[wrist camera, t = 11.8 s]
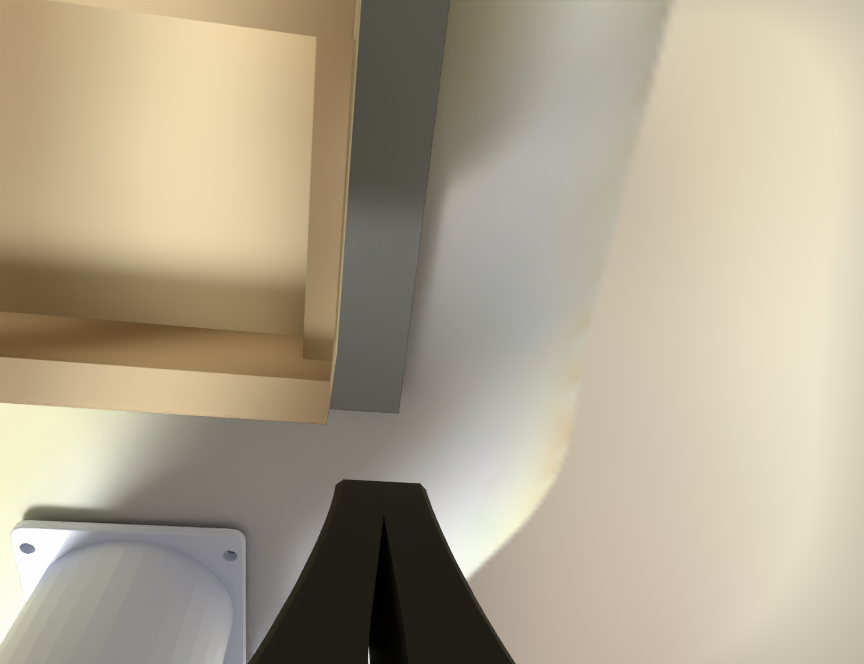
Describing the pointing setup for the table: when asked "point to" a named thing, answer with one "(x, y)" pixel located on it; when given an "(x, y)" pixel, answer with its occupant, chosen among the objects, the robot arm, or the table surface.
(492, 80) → the table surface
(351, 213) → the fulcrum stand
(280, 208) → the balance beam
